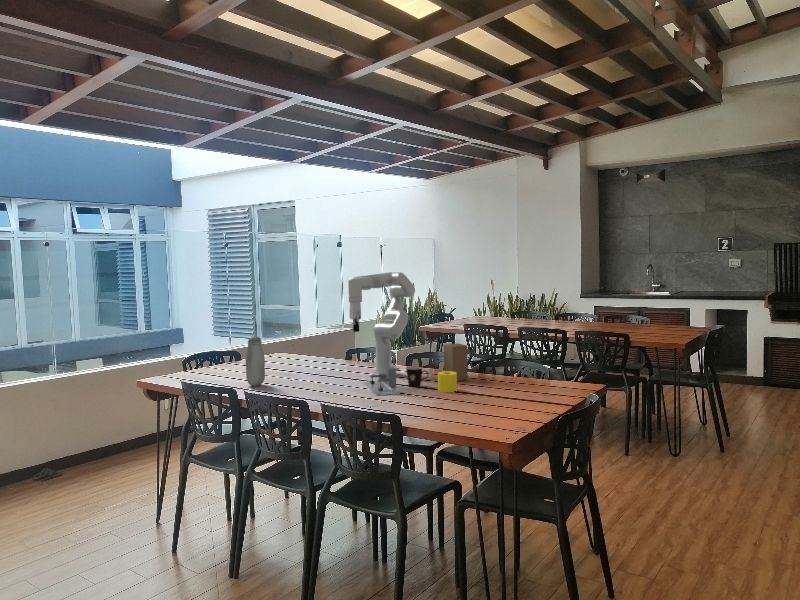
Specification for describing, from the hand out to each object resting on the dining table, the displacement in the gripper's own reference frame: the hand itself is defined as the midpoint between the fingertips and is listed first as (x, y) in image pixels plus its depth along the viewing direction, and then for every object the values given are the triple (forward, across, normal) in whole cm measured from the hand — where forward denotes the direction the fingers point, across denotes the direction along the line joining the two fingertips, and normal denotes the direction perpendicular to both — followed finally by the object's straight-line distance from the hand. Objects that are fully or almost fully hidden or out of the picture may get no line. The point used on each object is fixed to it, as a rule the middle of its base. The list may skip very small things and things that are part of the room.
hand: (356, 331), depth 347 cm
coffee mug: (+29, +25, +27) cm, 47 cm away
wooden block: (+29, +16, +54) cm, 64 cm away
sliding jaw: (+26, +33, +8) cm, 43 cm away
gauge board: (+29, +24, +7) cm, 38 cm away
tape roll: (+29, +41, +39) cm, 64 cm away
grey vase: (+29, -11, -56) cm, 64 cm away
